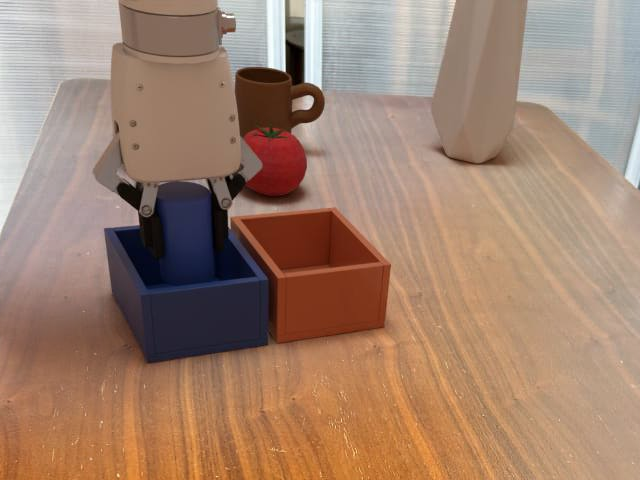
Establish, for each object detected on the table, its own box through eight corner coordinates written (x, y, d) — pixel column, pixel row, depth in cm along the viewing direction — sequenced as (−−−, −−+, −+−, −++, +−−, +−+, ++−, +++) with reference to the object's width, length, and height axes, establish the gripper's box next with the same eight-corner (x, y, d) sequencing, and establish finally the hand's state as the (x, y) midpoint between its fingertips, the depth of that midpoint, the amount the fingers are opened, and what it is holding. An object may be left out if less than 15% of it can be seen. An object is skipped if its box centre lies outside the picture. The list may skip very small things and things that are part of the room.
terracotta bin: (277, 343, 85) (277, 278, 80) (231, 279, 94) (230, 216, 89) (384, 327, 90) (391, 264, 85) (332, 267, 98) (335, 207, 94)
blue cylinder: (169, 291, 81) (161, 205, 76) (154, 267, 84) (146, 183, 79) (221, 284, 83) (218, 200, 78) (205, 261, 86) (201, 178, 81)
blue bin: (147, 363, 80) (140, 294, 76) (111, 293, 89) (103, 228, 84) (268, 344, 85) (268, 279, 80) (223, 280, 93) (221, 217, 89)
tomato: (231, 201, 108) (230, 133, 103) (240, 174, 114) (239, 109, 109) (303, 208, 109) (305, 141, 103) (308, 181, 115) (310, 117, 110)
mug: (325, 147, 125) (329, 75, 119) (318, 166, 119) (322, 92, 113) (241, 135, 125) (240, 63, 118) (230, 154, 119) (229, 79, 113)
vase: (416, 158, 126) (450, -128, 104) (439, 134, 134) (475, -135, 112) (498, 177, 124) (550, -110, 102) (516, 152, 132) (568, -119, 110)
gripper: (257, 17, 75) (259, 223, 88) (48, 18, 69) (82, 242, 81) (289, 42, 71) (286, 257, 83) (68, 46, 64) (101, 279, 76)
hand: (185, 247), depth 82 cm, fingers closed on blue cylinder, 5 cm apart
